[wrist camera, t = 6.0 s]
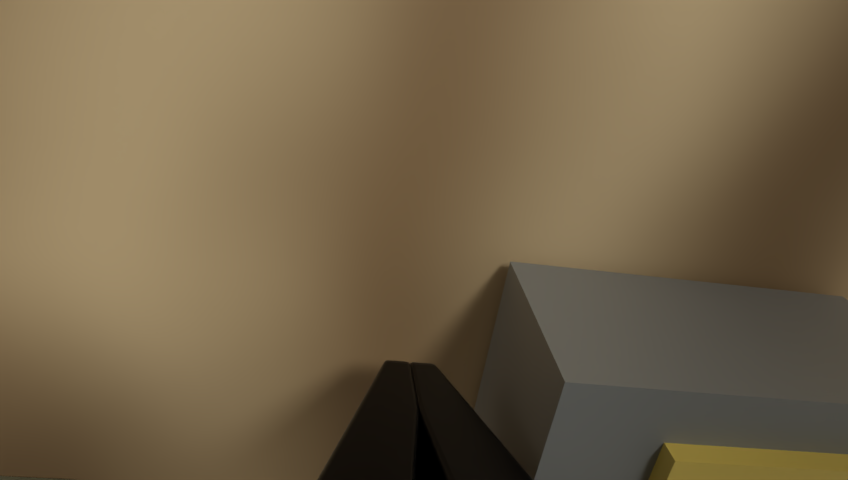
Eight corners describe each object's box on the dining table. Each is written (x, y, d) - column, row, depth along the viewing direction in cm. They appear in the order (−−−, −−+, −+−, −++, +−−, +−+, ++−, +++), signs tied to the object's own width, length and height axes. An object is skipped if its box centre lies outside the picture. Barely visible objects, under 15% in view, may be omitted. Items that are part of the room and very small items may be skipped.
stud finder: (842, 296, 10) (1032, 433, 7) (754, 466, 12) (880, 633, 9) (510, 261, 9) (572, 399, 7) (464, 448, 11) (497, 626, 8)
